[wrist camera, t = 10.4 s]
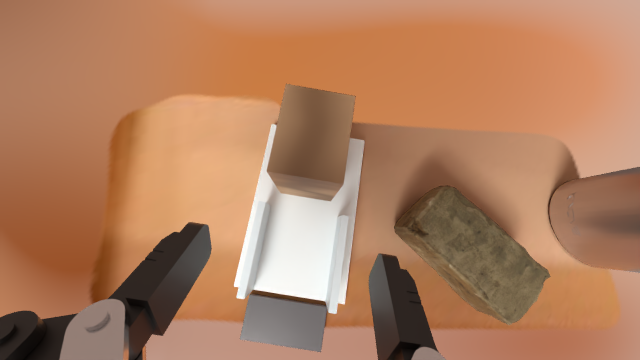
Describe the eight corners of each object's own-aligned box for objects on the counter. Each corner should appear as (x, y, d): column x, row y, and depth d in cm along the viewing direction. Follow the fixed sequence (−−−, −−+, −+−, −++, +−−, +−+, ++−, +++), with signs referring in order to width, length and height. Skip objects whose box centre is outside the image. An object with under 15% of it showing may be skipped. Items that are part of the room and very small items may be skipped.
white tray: (363, 142, 25) (372, 127, 21) (337, 351, 20) (344, 377, 16) (272, 126, 24) (266, 108, 21) (224, 334, 20) (206, 355, 16)
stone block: (420, 189, 24) (450, 178, 19) (508, 267, 23) (564, 277, 18) (386, 229, 23) (408, 228, 18) (477, 315, 21) (527, 339, 17)
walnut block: (339, 141, 24) (355, 95, 16) (330, 201, 22) (343, 184, 14) (292, 133, 24) (286, 83, 16) (280, 193, 22) (266, 171, 14)
